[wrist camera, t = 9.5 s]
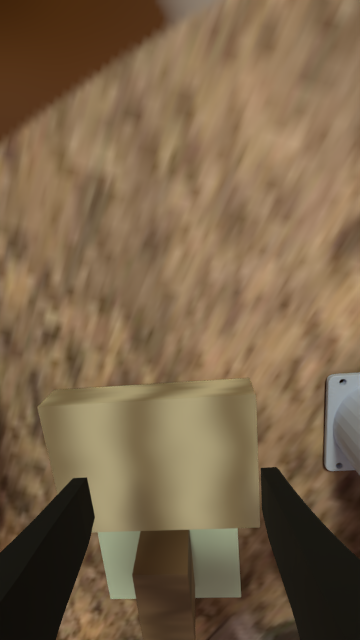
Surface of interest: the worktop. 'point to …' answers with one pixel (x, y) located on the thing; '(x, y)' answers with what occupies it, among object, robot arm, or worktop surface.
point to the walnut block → (165, 585)
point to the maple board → (159, 453)
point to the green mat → (207, 554)
